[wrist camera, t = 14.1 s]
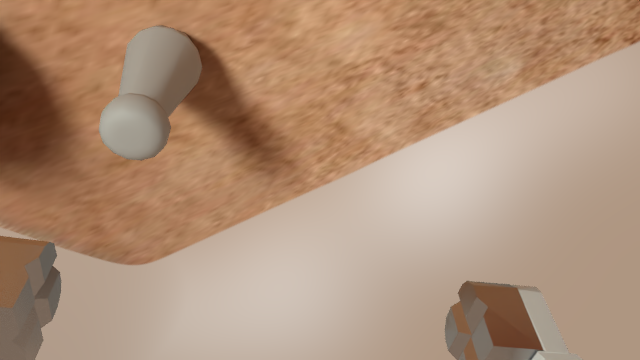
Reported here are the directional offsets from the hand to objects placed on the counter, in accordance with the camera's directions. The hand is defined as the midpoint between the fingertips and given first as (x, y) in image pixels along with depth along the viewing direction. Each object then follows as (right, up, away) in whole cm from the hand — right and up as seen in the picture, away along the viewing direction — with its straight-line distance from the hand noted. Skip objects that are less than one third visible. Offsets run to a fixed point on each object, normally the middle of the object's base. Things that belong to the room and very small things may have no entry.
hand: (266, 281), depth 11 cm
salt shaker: (-11, +13, +33) cm, 37 cm away
